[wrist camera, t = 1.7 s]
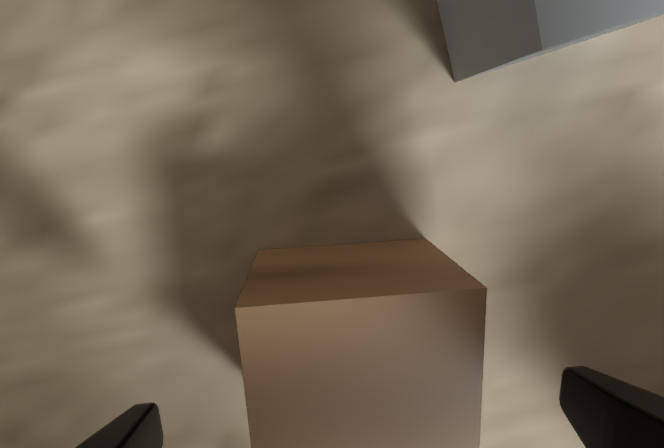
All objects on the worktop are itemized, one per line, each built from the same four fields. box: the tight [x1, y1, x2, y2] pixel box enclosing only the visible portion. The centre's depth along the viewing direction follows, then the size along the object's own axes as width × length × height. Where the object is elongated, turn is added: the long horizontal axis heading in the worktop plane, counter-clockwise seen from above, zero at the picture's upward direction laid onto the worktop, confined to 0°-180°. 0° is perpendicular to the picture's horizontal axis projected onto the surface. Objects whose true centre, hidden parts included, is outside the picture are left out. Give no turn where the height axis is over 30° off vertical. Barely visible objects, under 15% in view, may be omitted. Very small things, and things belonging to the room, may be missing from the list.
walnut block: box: [235, 238, 487, 448], centre depth 10 cm, size 5×5×4 cm
